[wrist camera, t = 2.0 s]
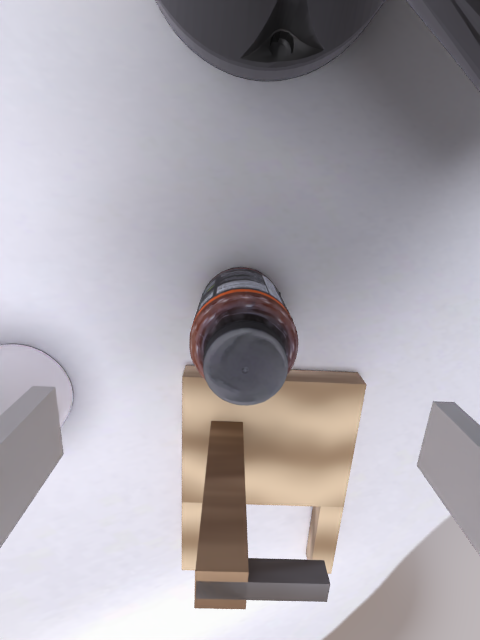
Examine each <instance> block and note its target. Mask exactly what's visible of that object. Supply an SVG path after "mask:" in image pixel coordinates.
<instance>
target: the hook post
mask: <svg viewBox="0 0 480 640" xmlns="http://www.w3.org/2000/svg"><path fill="white" fill-rule="evenodd" d="M329 588H330V582H329V578H328V574H327V570H326V566H325V562H324V560H297V559H258V558H248V543H247V517H246V491H245V465H244V439H243V422H233V421H211V426H210V436H209V445H208V455H207V464H206V474H205V483H204V493H203V502H202V512H201V521H200V531H199V540H198V549H197V559H196V568H195V608H214V609H246V600H273V601H319V602H327V598H328V593H329Z"/></svg>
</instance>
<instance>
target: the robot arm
mask: <svg viewBox="0 0 480 640" xmlns="http://www.w3.org/2000/svg"><path fill="white" fill-rule="evenodd" d="M155 1H156V3H157V5H158V7H159V8H160V10H161V12H162V14H163V15H164V17H165V19H166V20H167V22H168V23H169V25H170V26H171V27H172V29H173V30H174V31H175V33H176V34H177V35H178V36H179V37H180V39H181V40H182V41H183V42H184V43H185V44H186V45H187V46H188V47H189V48H190V49H191V50H192V51H193V52H195V53H196V54H197V55H198V56H200V57H201V58H202V59H203V60H205V61H206V62H208V63H210V64H211V65H213V66H215V67H216V68H218V69H220V70H222V71H225V72H227V73H229V74H232V75H235V76H238V77H242V78H246V79H251V80H260V81H276V80H284V79H290V78H294V77H298V76H301V75H304V74H306V73H309V72H311V71H313V70H316V69H318V68H319V67H321V66H323V65H325V64H326V63H328V62H329V61H331V60H332V59H334V58H335V57H336V56H338V55H339V54H340V53H342V52H343V51H344V50H345V49H346V48H347V47H348V46H349V45H350V44H351V43H352V42H353V41H354V40H355V39H356V38H357V37H358V36H359V35H360V33H361V32H362V31H363V30H364V29H365V27H366V26H367V25H368V23H369V22H370V21H371V19H372V18H373V17H374V15H375V14H376V12H377V11H378V10H379V8H380V7H381V6H382V4H383V3H384V1H385V0H155ZM406 1H407V2H408V4H409V5H410V6H411V7H412V8H413V10H414V11H415V12H416V13H417V14H418V16H419V17H420V18H421V19H422V21H423V22H424V23H425V24H426V25H427V27H428V28H429V29H430V30H431V31H432V33H433V34H434V35H435V36H436V37H437V39H438V40H439V41H440V42H441V44H442V45H443V46H444V47H445V48H446V50H447V51H448V52H449V53H450V54H451V56H452V57H453V58H454V60H455V61H456V62H457V63H458V65H459V66H460V67H461V69H462V70H463V71H464V72H465V74H466V75H467V76H468V78H469V79H470V80H471V81H472V83H473V84H474V85H475V86H476V88H477V89H478V90H479V92H480V0H406ZM63 454H64V453H63V445H62V437H61V429H60V420H59V412H58V404H57V396H56V388H55V387H46V386H32V387H31V388H30V389H29V390H28V391H26V392H25V393H24V394H23V395H22V396H21V397H20V398H19V399H18V400H17V401H16V402H14V403H13V404H12V405H11V406H10V407H9V408H8V409H7V410H6V411H5V412H4V413H2V414H1V415H0V548H1V546H2V545H3V543H4V542H5V540H6V539H7V537H8V536H9V534H10V533H11V531H12V530H13V528H14V527H15V525H16V524H17V522H18V521H19V519H20V518H21V517H22V515H23V514H24V512H25V511H26V509H27V508H28V506H29V505H30V503H31V502H32V500H33V499H34V497H35V496H36V494H37V493H38V491H39V490H40V488H41V487H42V485H43V484H44V482H45V481H46V479H47V478H48V476H49V475H50V473H51V472H52V471H53V469H54V468H55V466H56V465H57V463H58V462H59V460H60V459H61V457H62V456H63ZM417 467H418V468H419V469H420V471H421V472H422V474H423V475H424V477H425V478H426V479H427V481H428V482H429V484H430V485H431V487H432V488H433V490H434V491H435V492H436V494H437V495H438V497H439V498H440V500H441V501H442V502H443V504H444V505H445V507H446V508H447V510H448V511H449V513H450V514H451V515H452V517H453V518H454V520H455V521H456V523H457V524H458V525H459V527H460V528H461V530H462V531H463V532H464V534H465V535H466V537H467V538H468V540H469V541H470V543H471V544H472V546H473V547H474V548H475V550H476V551H477V553H478V554H479V556H480V425H479V424H478V423H477V422H476V421H474V420H473V419H472V418H471V417H470V416H469V415H468V414H467V413H466V412H465V411H463V410H462V409H461V408H460V407H459V406H458V405H457V404H456V403H455V402H436V401H433V403H432V407H431V411H430V415H429V419H428V423H427V427H426V431H425V435H424V439H423V443H422V447H421V451H420V454H419V458H418V462H417Z"/></svg>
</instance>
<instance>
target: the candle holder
mask: <svg viewBox="0 0 480 640" xmlns="http://www.w3.org/2000/svg"><path fill="white" fill-rule="evenodd" d="M32 386H46V387H55V388H56V396H57V404H58V412H59V420H60V428H61V427H62V425H63V423H64V422H65V420H66V418H67V417H68V415H69V413H70V410H71V407H72V403H73V390H72V386H71V383H70V380H69V378H68V376H67V374H66V373H65V371H64V370H63V368H62V367H61V366H60V365H59V364H58V363H57V362H56V361H55V360H54V359H53V358H51V357H50V356H49V355H47V354H45V353H44V352H42V351H40V350H38V349H35V348H32V347H29V346H25V345H18V344H6V345H0V415H1V414H2V413H4V412H5V411H6V410H7V409H8V408H9V407H10V406H11V405H12V404H13V403H14V402H16V401H17V400H18V399H19V398H20V397H21V396H22V395H23V394H24V393H25V392H26V391H28V390H29V389H30V388H31V387H32Z"/></svg>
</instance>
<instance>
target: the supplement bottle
mask: <svg viewBox="0 0 480 640" xmlns="http://www.w3.org/2000/svg"><path fill="white" fill-rule="evenodd" d="M297 351H298V335H297V331H296V327H295V325H294V322H293V319H292V318H291V316H290V314H289V312H288V310H287V308H286V306H285V304H284V302H283V300H282V298H281V296H280V292H278V291H277V289H276V287H275V286H274V285H273V283H272V282H271V281H270V280H269V279H268V278H267V277H266V276H265V275H263V274H262V273H260V272H258V271H256V270H253V269H249V268H232V269H228V270H226V271H223V272H221V273H220V274H218V275H217V276H216V277H214V278H213V279H212V280H211V281H210V283H209V284H208V285H207V287H206V289H205V290H204V292H203V294H202V297H201V300H200V303H199V306H198V309H197V312H196V315H195V318H194V321H193V325H192V328H191V332H190V354H191V358H192V361H193V363H194V365H195V367H196V369H197V371H198V372H199V374H200V375H201V376H202V377H203V378H204V379H205V380H206V382H207V384H208V386H209V388H210V389H211V390H212V391H213V392H214V393H215V394H216V395H217V396H218V397H219V398H221V399H222V400H224V401H227V402H228V403H232V404H236V405H241V406H242V405H245V406H248V405H255V404H258V403H262V402H265V401H266V400H268V399H270V398H271V397H272V396H274V395H275V394H276V393H277V392H278V391H279V390H280V389H281V387H282V386H283V384H284V382H285V380H286V377H287V374H288V373H289V372H290V370H291V368H292V367H293V365H294V362H295V359H296V355H297Z"/></svg>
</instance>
